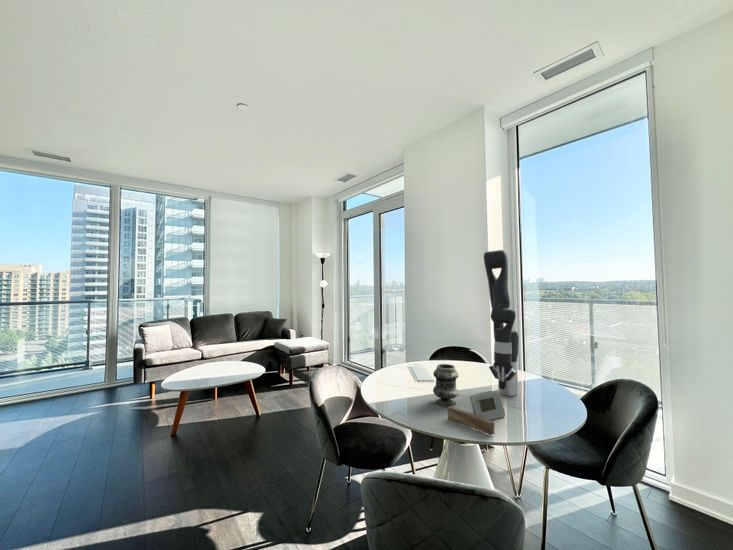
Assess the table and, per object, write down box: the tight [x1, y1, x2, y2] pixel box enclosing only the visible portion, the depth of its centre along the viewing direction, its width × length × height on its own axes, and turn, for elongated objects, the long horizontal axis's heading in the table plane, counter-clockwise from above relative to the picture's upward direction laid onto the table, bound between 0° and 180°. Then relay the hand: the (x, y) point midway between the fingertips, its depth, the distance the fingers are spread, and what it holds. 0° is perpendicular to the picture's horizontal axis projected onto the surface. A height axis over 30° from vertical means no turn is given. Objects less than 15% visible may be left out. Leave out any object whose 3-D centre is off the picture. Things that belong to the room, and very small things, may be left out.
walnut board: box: [447, 406, 495, 435], centre depth 134 cm, size 2×20×5 cm, turn 39°
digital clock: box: [469, 389, 506, 421], centre depth 142 cm, size 16×9×11 cm, turn 102°
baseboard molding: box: [408, 363, 435, 382], centre depth 207 cm, size 31×3×12 cm
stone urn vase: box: [432, 363, 460, 408], centre depth 159 cm, size 12×12×18 cm
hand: (502, 389), depth 151 cm, fingers closed
